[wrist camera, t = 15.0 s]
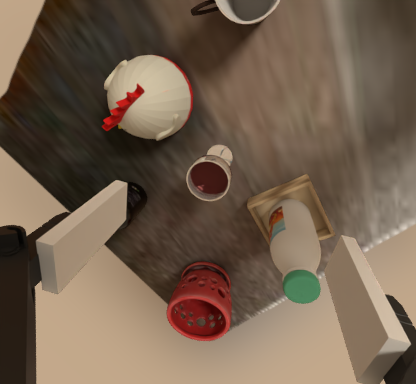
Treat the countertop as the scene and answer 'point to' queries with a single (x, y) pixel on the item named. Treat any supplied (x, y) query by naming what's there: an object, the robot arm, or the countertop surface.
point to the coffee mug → (240, 9)
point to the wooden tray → (290, 190)
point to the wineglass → (211, 174)
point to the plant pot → (201, 302)
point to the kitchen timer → (148, 97)
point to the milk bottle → (295, 249)
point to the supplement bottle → (133, 203)
